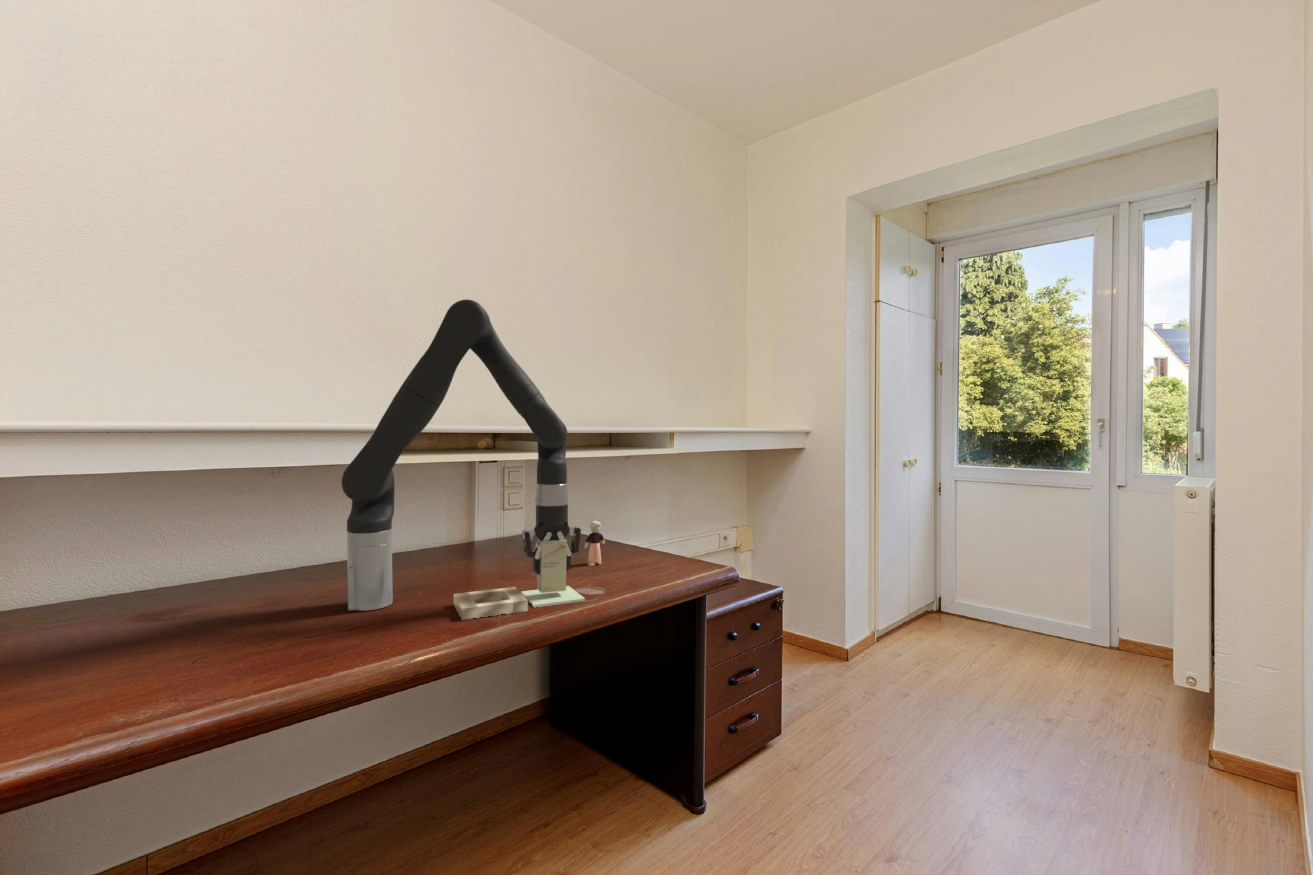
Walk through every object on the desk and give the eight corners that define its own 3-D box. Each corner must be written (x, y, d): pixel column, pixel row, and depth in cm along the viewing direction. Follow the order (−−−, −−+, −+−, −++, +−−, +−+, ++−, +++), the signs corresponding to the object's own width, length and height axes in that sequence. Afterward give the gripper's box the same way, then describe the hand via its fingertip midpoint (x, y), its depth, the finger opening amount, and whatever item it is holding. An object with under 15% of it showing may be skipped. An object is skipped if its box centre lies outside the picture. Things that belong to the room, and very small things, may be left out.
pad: (534, 607, 140) (534, 605, 140) (521, 593, 151) (521, 591, 151) (584, 600, 145) (584, 598, 145) (568, 588, 156) (568, 585, 156)
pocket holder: (462, 620, 131) (462, 608, 131) (453, 604, 142) (453, 594, 142) (527, 611, 137) (527, 600, 137) (514, 597, 148) (514, 586, 148)
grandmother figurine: (592, 567, 177) (592, 523, 177) (582, 565, 179) (581, 521, 179) (608, 562, 184) (608, 519, 183) (598, 560, 186) (598, 518, 185)
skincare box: (540, 593, 145) (540, 541, 144) (536, 588, 149) (536, 538, 148) (567, 590, 147) (567, 539, 147) (562, 586, 151) (562, 536, 151)
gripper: (525, 506, 141) (525, 579, 141) (586, 502, 147) (585, 573, 148) (517, 502, 147) (517, 572, 148) (575, 498, 154) (575, 566, 154)
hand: (551, 572), depth 148 cm, fingers closed on skincare box, 6 cm apart
